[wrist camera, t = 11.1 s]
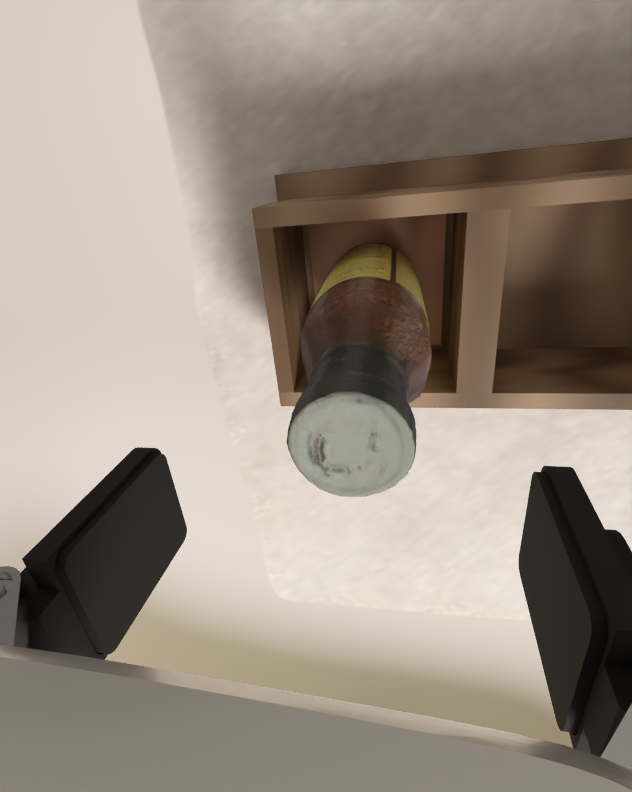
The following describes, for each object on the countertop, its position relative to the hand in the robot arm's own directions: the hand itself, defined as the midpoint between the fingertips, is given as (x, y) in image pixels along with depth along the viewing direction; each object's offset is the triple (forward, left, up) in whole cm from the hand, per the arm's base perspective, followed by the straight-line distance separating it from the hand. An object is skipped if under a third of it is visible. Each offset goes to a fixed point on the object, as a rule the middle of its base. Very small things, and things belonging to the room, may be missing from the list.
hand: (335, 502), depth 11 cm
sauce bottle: (0, 0, -23) cm, 23 cm away
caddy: (-6, 0, -24) cm, 24 cm away
